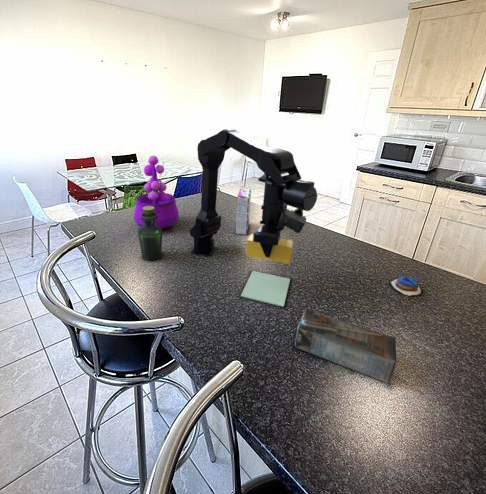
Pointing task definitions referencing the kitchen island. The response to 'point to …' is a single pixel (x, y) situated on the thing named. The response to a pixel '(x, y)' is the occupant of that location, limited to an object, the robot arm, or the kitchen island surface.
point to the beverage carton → (347, 345)
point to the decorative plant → (156, 198)
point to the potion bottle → (150, 235)
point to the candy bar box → (243, 211)
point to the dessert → (406, 285)
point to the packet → (278, 252)
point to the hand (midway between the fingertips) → (269, 253)
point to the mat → (266, 288)
